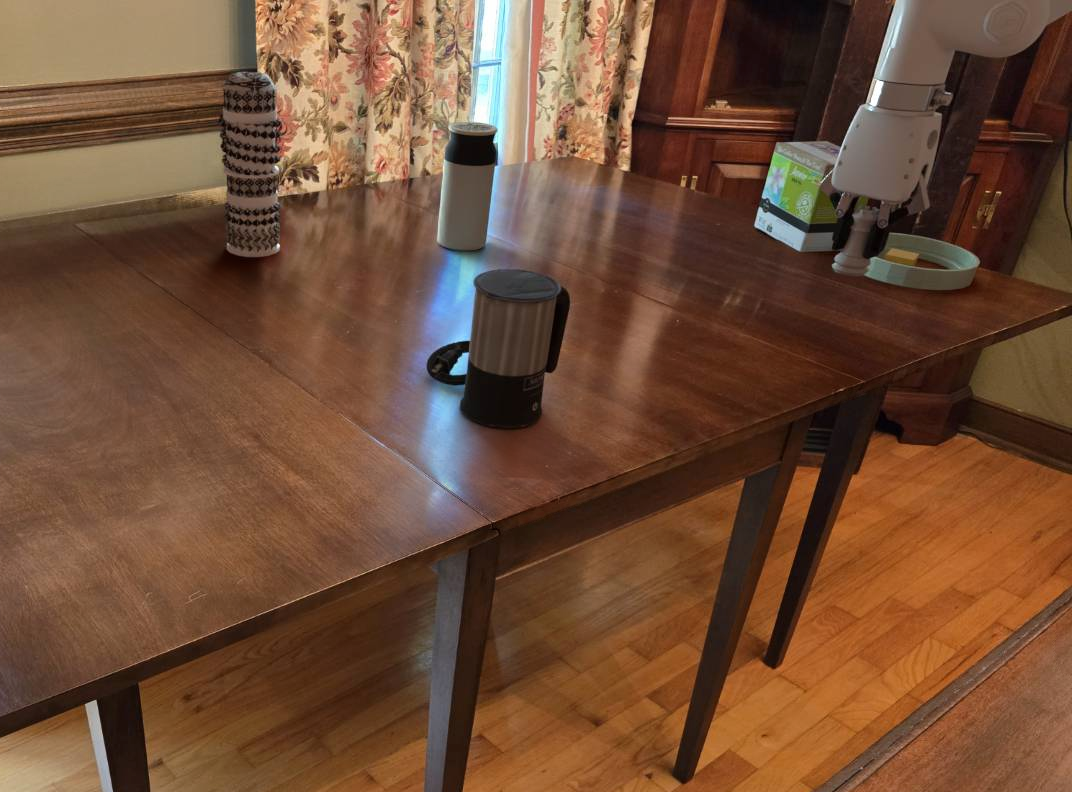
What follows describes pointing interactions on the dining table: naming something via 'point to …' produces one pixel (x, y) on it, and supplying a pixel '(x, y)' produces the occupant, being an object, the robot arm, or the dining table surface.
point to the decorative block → (902, 257)
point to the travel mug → (467, 186)
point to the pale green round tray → (922, 278)
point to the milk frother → (507, 347)
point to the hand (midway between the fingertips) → (855, 251)
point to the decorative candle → (251, 164)
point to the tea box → (800, 196)
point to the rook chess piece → (856, 244)
